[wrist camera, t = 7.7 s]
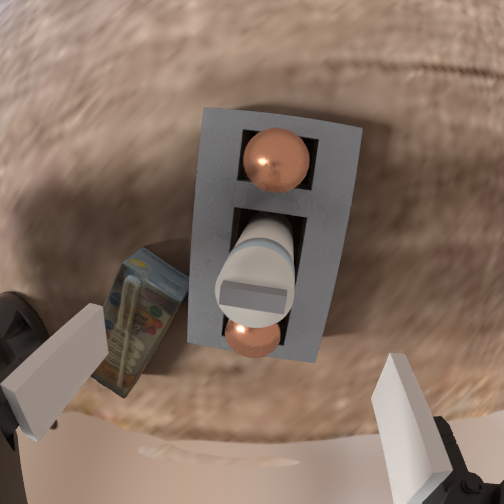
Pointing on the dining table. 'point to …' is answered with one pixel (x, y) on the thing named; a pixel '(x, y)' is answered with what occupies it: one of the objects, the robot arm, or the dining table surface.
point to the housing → (289, 202)
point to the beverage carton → (138, 317)
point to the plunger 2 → (252, 339)
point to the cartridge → (259, 273)
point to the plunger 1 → (276, 160)
